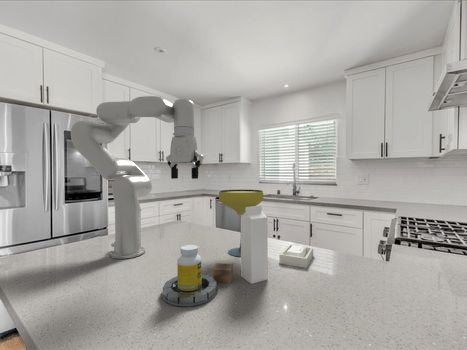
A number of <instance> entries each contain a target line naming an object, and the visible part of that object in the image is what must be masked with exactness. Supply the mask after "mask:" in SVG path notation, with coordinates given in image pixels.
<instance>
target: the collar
mask: <svg viewBox="0 0 467 350" xmlns="http://www.w3.org/2000/svg"><path fill="white" fill-rule="evenodd" d="M201 274H202V287H201V290H200V291H199V292H196V293H193V294H181V293H179V291H178V275H177V276H175V277H172V278H170V279H168V280H167V281H166V282H165V283H164V284H163V287H162V292H161V293H162V297H161V298H162V301H164V303H166V304H168V305H170V306H173V307H176V308H177V307H178V308H192V307H197V306H201V305H204V304H207V303H209V302H210V301H212V300H213V299H215V297H216V296H217V294H218V286H217V283H216V280H215V279H214V277H213V276H210V275H209V274H208V275H207V274H203V273H201Z"/></svg>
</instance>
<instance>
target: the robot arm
mask: <svg viewBox="0 0 467 350" xmlns="http://www.w3.org/2000/svg"><path fill="white" fill-rule="evenodd" d="M95 113H96V115H97V118H98V119H99V120H100V121H102V122H104V123H105V124H103V123H99V122H97V121H96V122H94V121H90V120H78V121H76V122H74V123H73V125H72V126H71V128H70V138H71V139H70V140H71V142H72V145H73V146H74V148H75V149H76V150H77V152H78V153H79V154H80V155H81V156H82V157H84V158H85V159H86V160H87V162H88V163H89V164H90V165H91V166H92V167H93V168H94V169H95V170H96V172H97V173H98V174H100V176H101V178H103V179H105V180H106V181H113V182H112V184H111V192H112V197H113V203H114V240H115V241H114V242H112V243H111V244H110V245H111V247H112V248H114V250H112V251H111V253H110V257H111V258H113V259H117V260H118V259H119V260H121V259H122V260H123V259H131V258H135V257H138V256H142V255H143V254H144V253H145V252H146V248H145V247H143V246H142V218H141V217H142V216H141V215H142V214H141V212H142V210H141V204H140V202H139V199H138V198H143V197H146V196H148V195H149V194H150V193H151V192H152V189H153V185H152V181H151V179H150V178H149V176H147V174H145V172H144V171H143V170H142V169H141V168H140V167H139V166H138V165H137V164H136V163H134V162H133V161H132V160H131V159H127V158H119V157H115V156H114V155H113V154H112V153H111V152H110V151H109V150H108V149H107V148H106V147H105V146H103V145H107V144H108V145H109V144H111V143H113V142H114V141H115V140H116V139H117V138H118V137H119V136H120V135H121V134H122V133H123V132H124V131H125V130H126V129H127V127H128V126H129V125H130V124H136V123H138V122H139V121H140V119H141V118H154V119H157V120H160V121H163V122H165V123H168V124H170V123H171V124H172V123H173V131H172V135H173V136H172V137H171V141H170V142H171V143H170V150H169V151H170V152H169V155H167V156H166V157H165V160H166V162H167V165H168V166H169V168H170V178H171V179H172V180H173V179H176V180H177V179H178V178H179V168H177V167H179V165H180V164H190V165H191V166H192V167H191V179H192V180H194V179H195V180H197V179H199V168H200V167H201V165H202V163H203V161H204V158H205V156H204V154H202V153H200V152H198V151H199V150H198V143H197V139H196V136H195V103H194V102H193V101H192V100H191V99H186V98H179V99H176V100H175V101H174V102H170V101H168V100H167V99H165V98H163V97H160V96H155V95H151V96H150V95H147V96H146V95H145V96H137V97H135V98H133V99H131V100H128V101H106V102H104V101H103V102H102V103H100V104H98V105H97V107H96V111H95ZM102 144H103V145H102Z"/></svg>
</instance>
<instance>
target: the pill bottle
mask: <svg viewBox="0 0 467 350" xmlns="http://www.w3.org/2000/svg"><path fill="white" fill-rule="evenodd" d="M198 253H199V245H195V244H186V245H183V246H181V247H180V254H181V255H180V256H179V257H178V258H177V263H176V266H177V268H176V269H177V276H178V291H179V293H181V294H193V293H196V292H199V291H200V290H201V287H202V274H203V273H202V257H201V256H200V255H199V254H198Z"/></svg>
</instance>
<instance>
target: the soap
mask: <svg viewBox="0 0 467 350" xmlns="http://www.w3.org/2000/svg"><path fill="white" fill-rule="evenodd" d="M292 245H293V246H292V247H291V248H290V249H289V250H288V251H287V252H286V255H290V256H296V257H304V256H305V254H306V248H305V247H306V246H303V247H301V245H296V246H294V244H292Z"/></svg>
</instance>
